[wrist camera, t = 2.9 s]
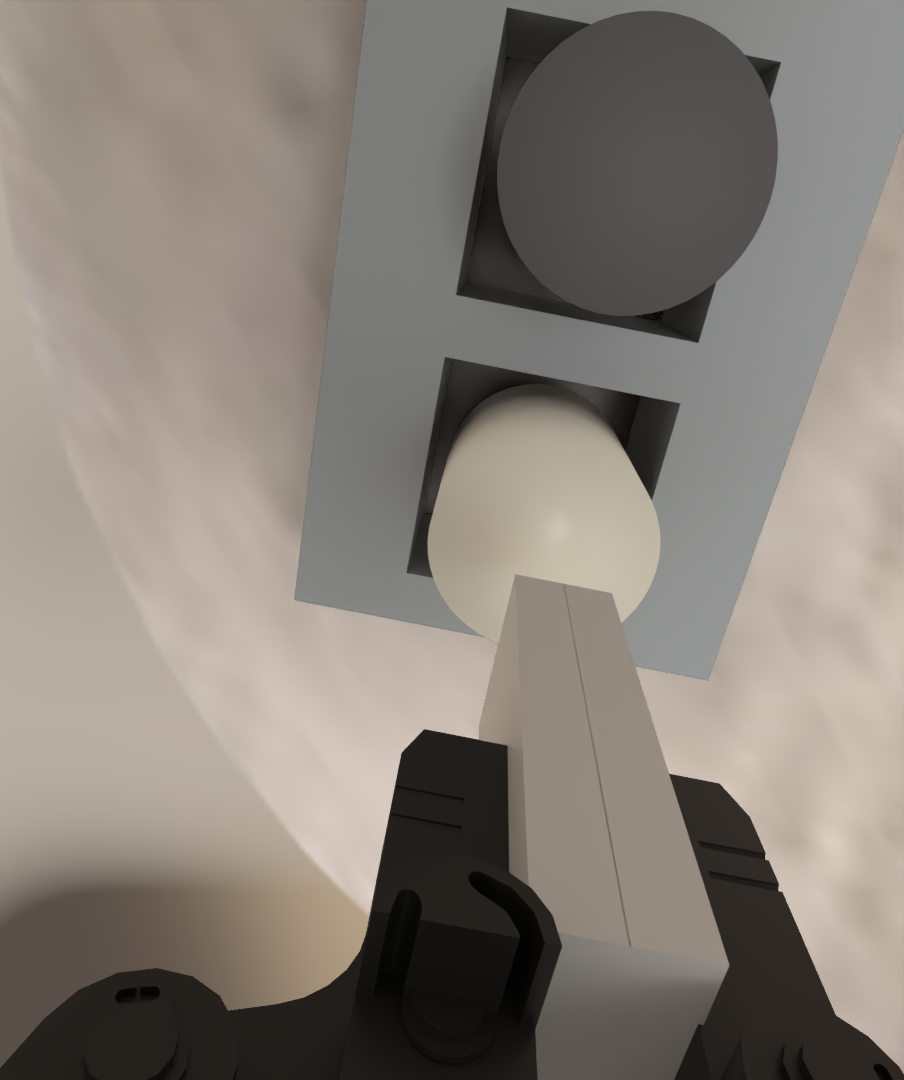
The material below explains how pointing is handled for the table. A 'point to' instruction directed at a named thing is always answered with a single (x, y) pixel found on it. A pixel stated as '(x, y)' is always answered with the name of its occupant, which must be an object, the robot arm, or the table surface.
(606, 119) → the button black
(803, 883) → the table surface
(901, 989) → the table surface
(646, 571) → the button ivory
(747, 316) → the panel
